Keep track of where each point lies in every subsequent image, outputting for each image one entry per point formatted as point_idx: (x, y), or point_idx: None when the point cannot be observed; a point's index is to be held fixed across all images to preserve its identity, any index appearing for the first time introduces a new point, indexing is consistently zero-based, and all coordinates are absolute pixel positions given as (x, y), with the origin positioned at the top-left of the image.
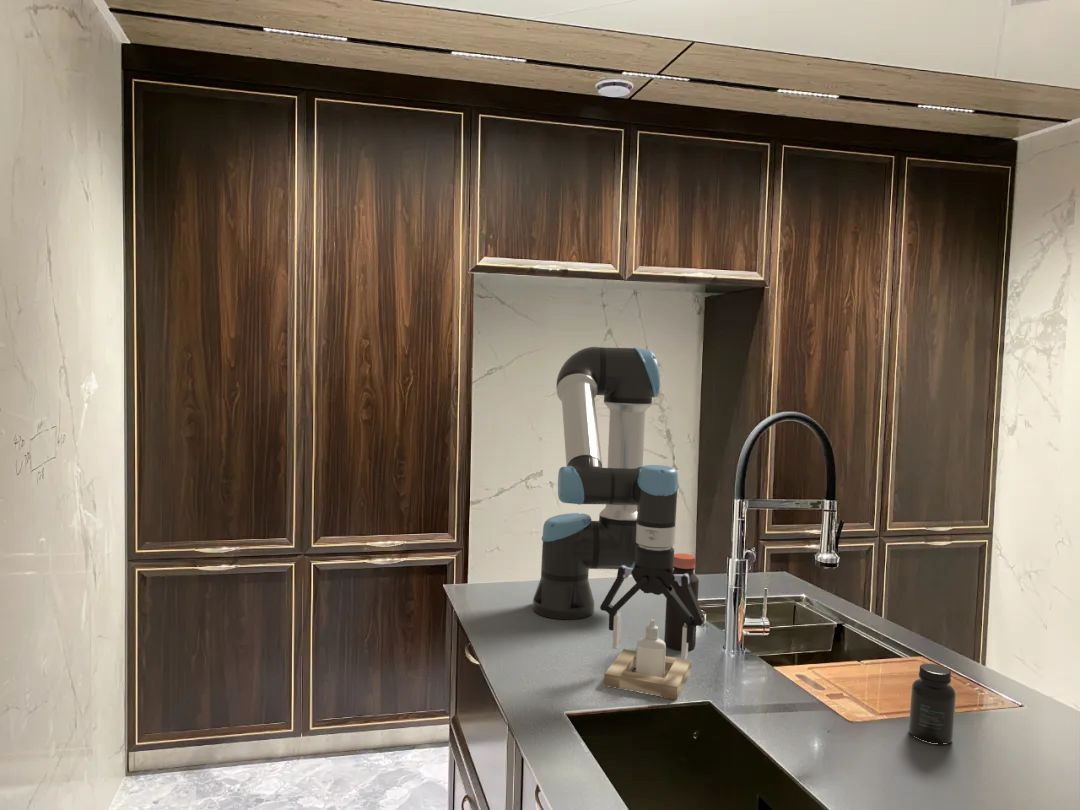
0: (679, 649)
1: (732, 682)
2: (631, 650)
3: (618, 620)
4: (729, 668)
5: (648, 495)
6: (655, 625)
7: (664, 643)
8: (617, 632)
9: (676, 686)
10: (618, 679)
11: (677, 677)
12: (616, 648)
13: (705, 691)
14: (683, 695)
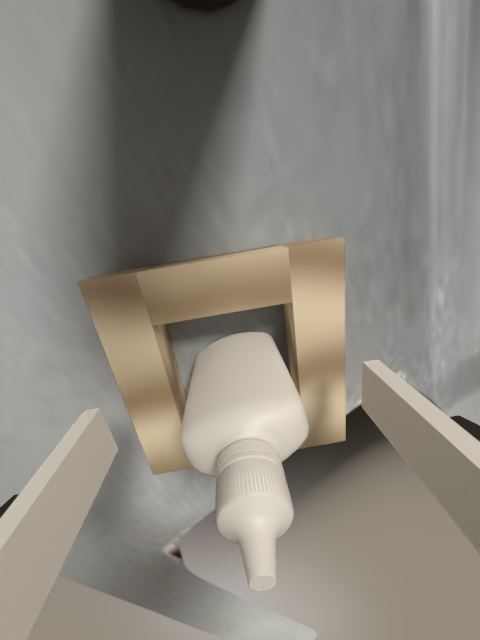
0: (224, 3)
1: (455, 232)
2: (110, 279)
3: (33, 590)
4: (447, 101)
5: None
6: (277, 531)
7: (306, 430)
8: (81, 510)
9: (342, 438)
10: None
11: (332, 392)
12: (116, 447)
13: (385, 336)
14: None
